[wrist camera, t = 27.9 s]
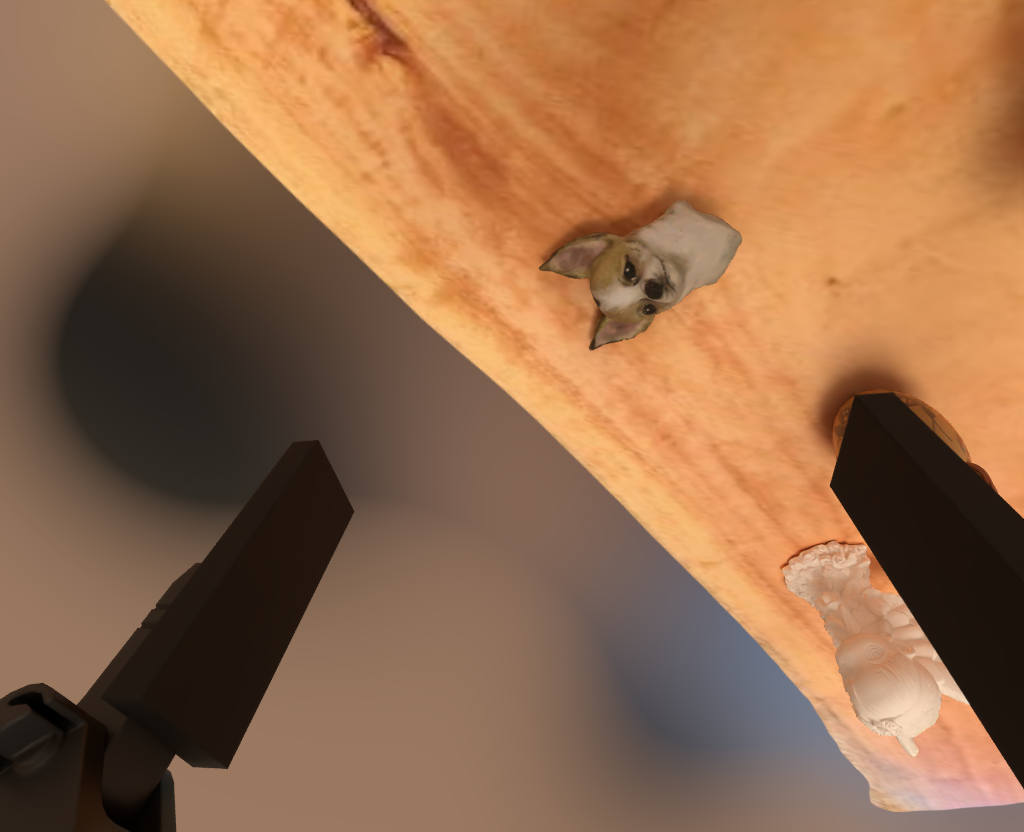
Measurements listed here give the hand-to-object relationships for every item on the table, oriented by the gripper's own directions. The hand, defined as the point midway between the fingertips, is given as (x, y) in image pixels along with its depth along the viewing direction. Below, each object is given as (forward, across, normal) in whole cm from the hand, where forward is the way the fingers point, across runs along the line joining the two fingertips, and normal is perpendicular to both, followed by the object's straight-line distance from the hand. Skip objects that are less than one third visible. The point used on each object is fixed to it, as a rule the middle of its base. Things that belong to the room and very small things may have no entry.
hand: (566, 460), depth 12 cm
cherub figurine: (+35, +30, -51) cm, 69 cm away
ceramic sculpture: (+35, +6, -6) cm, 36 cm away
